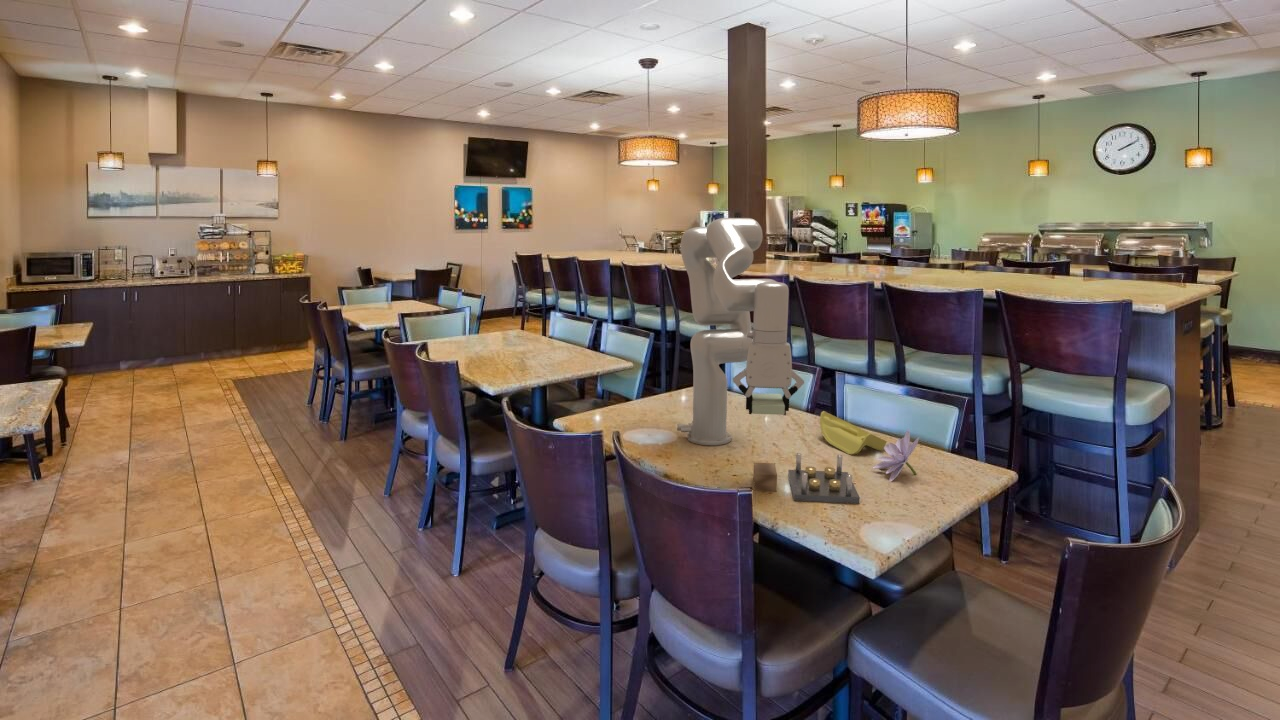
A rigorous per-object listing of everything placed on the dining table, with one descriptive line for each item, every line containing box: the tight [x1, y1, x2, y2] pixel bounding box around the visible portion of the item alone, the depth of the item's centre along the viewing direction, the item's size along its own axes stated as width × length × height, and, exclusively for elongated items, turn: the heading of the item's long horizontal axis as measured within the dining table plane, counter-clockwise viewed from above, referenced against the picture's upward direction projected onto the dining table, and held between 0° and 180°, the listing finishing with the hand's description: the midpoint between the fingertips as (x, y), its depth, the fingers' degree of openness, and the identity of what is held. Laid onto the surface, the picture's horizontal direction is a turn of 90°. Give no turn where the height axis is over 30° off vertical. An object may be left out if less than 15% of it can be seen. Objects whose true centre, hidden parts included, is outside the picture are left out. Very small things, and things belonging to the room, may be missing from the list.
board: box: [752, 392, 785, 416], centre depth 157 cm, size 7×11×2 cm, turn 173°
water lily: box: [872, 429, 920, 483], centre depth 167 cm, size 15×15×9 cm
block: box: [752, 462, 778, 493], centre depth 161 cm, size 5×8×4 cm, turn 173°
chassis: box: [787, 452, 861, 505], centre depth 158 cm, size 14×16×6 cm
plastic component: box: [819, 410, 888, 456], centre depth 192 cm, size 20×7×10 cm
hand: (767, 412), depth 158 cm, fingers closed on board, 7 cm apart
